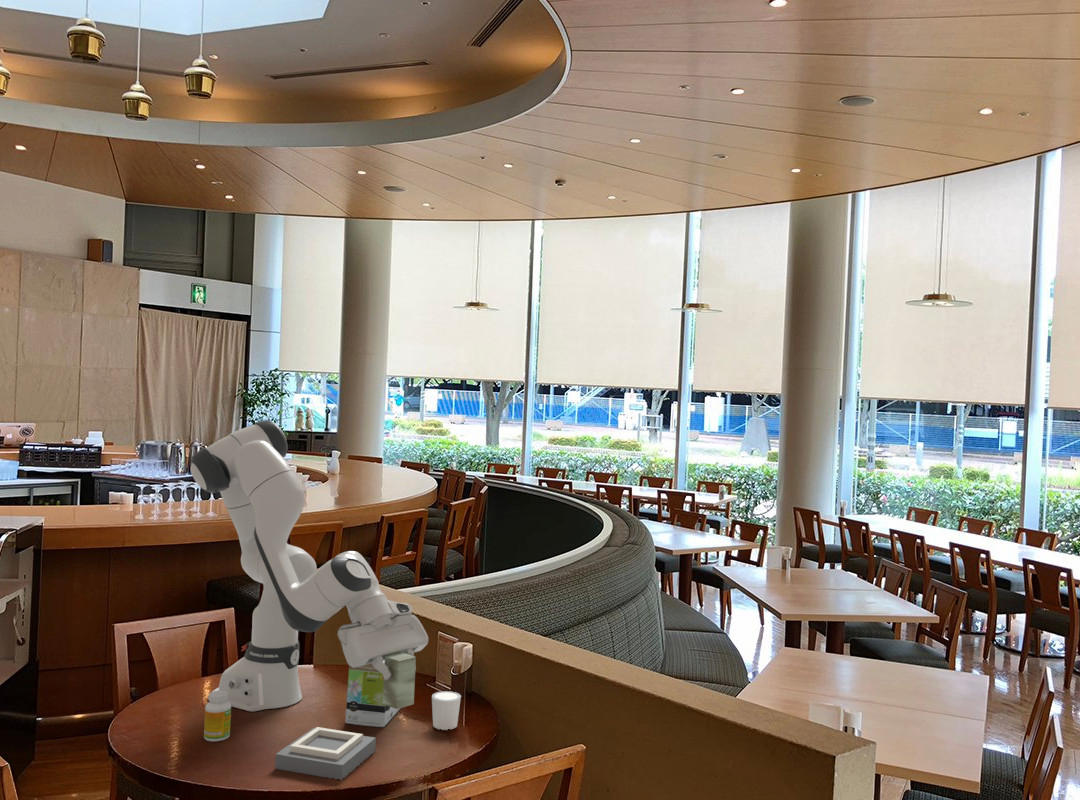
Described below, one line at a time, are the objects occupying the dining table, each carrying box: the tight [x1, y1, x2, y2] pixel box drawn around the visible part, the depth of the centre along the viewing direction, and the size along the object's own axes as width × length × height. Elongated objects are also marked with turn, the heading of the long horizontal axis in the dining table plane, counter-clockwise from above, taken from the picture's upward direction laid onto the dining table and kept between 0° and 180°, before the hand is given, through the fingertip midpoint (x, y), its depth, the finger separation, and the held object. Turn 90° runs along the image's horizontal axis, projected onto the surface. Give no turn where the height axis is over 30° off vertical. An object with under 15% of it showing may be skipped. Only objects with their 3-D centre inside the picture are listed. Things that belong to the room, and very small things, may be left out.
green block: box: [383, 652, 417, 710], centre depth 183 cm, size 5×5×10 cm
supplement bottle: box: [203, 690, 232, 742], centre depth 191 cm, size 5×5×10 cm
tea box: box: [344, 660, 400, 728], centre depth 208 cm, size 15×10×15 cm
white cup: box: [431, 690, 462, 731], centre depth 204 cm, size 7×7×7 cm
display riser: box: [274, 726, 377, 781], centre depth 182 cm, size 15×15×4 cm
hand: (401, 674), depth 183 cm, fingers closed on green block, 5 cm apart
